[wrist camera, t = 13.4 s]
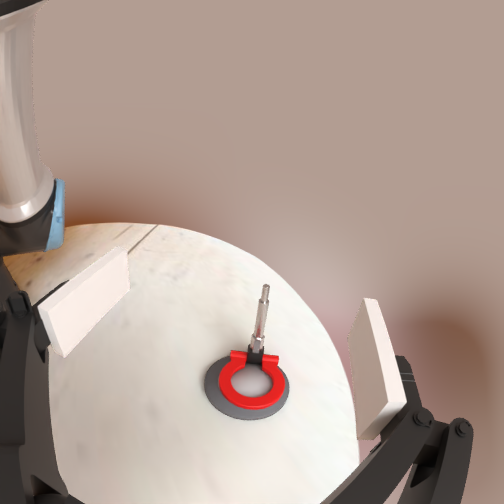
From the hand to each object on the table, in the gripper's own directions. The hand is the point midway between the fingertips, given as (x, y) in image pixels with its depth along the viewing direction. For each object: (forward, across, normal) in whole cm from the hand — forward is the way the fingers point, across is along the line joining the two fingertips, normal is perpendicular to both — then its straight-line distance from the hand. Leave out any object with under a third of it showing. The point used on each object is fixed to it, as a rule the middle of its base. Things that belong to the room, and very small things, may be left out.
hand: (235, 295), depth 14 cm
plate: (+11, +1, -22) cm, 25 cm away
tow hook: (+12, +2, -21) cm, 24 cm away
